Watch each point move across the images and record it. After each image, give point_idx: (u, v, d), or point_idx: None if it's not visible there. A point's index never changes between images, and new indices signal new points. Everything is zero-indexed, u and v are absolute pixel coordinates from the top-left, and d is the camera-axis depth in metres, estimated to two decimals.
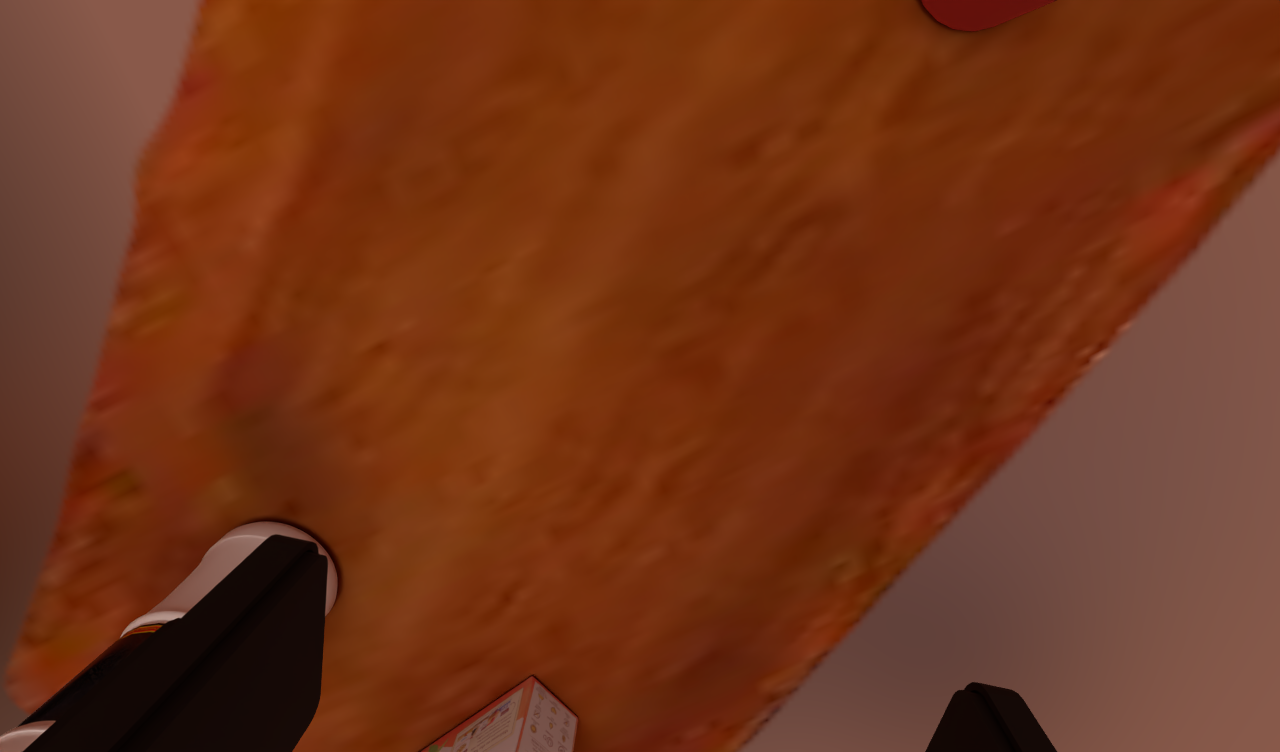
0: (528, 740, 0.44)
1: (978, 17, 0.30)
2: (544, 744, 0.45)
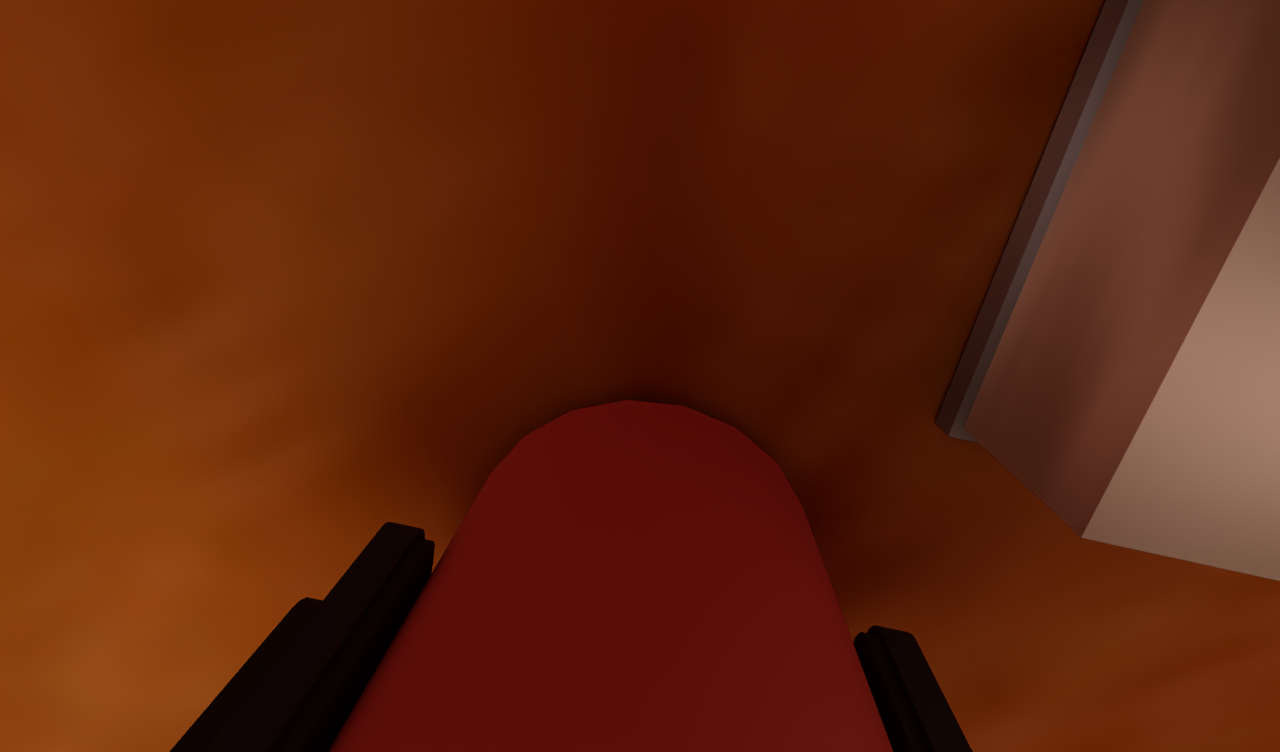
0: None
1: None
2: None
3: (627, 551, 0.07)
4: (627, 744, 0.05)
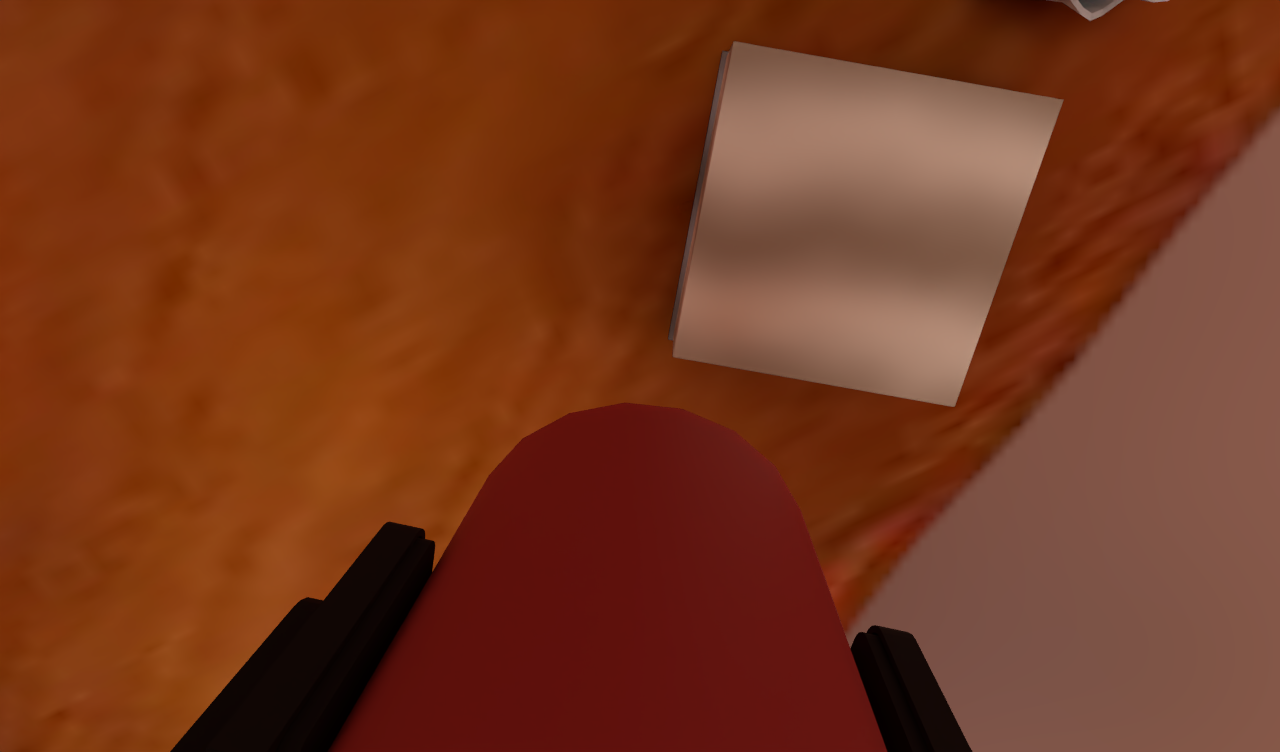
0: None
1: None
2: None
3: (622, 556, 0.07)
4: (622, 749, 0.05)
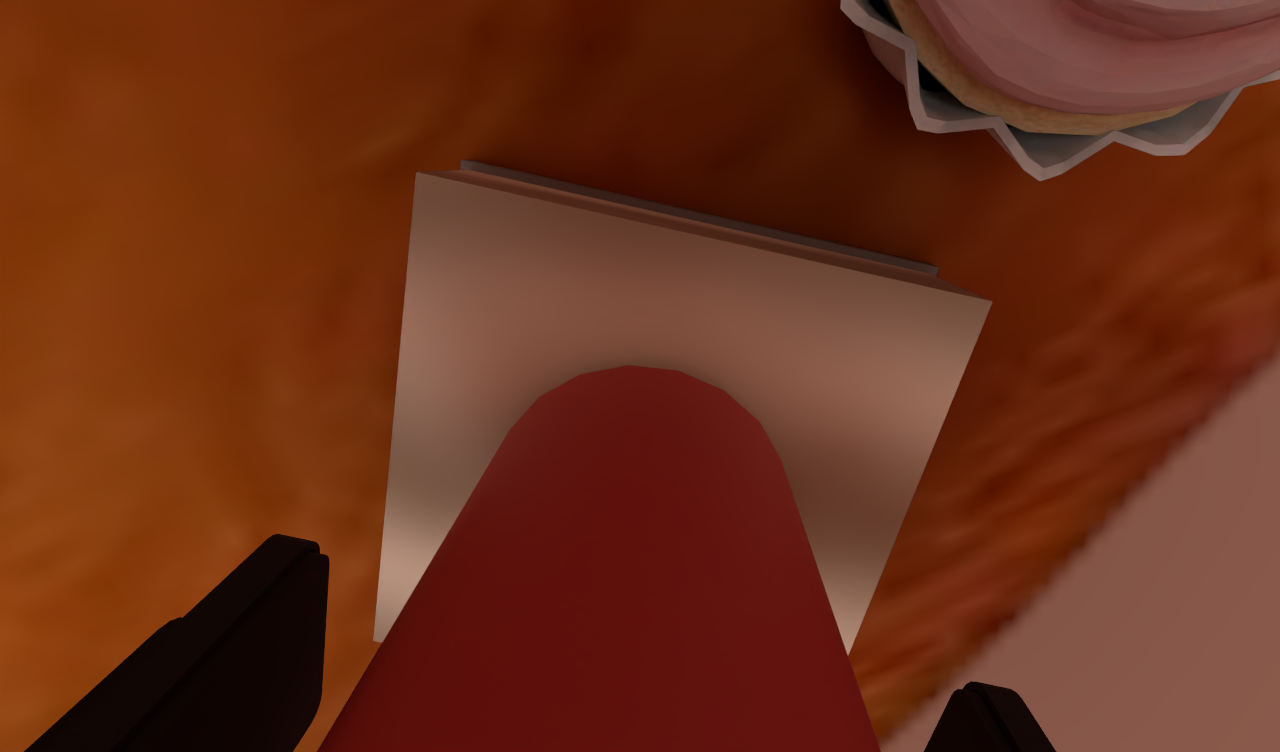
0: None
1: None
2: None
3: (628, 472, 0.09)
4: (628, 587, 0.06)
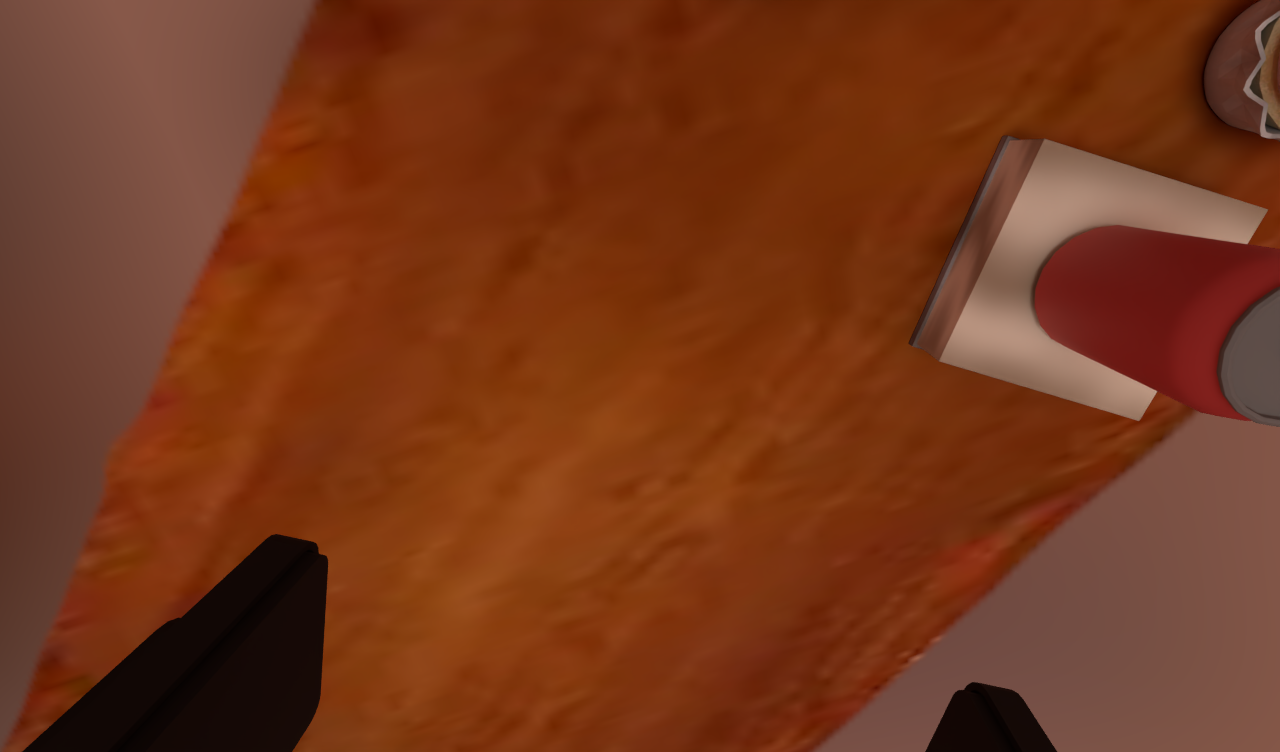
0: None
1: (1100, 363, 0.31)
2: None
3: (1195, 236, 0.27)
4: None
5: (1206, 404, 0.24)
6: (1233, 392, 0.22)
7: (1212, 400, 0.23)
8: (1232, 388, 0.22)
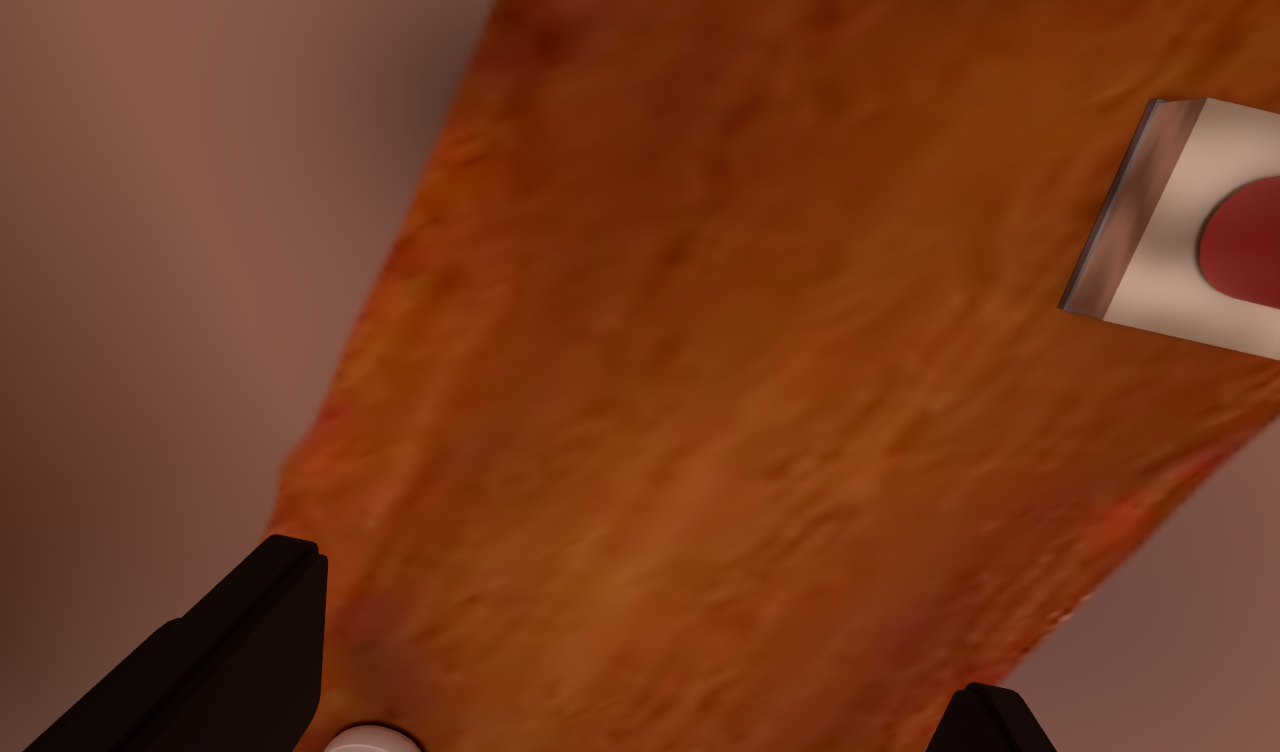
0: None
1: (1279, 309, 0.32)
2: None
3: None
4: None
5: None
6: None
7: None
8: None
